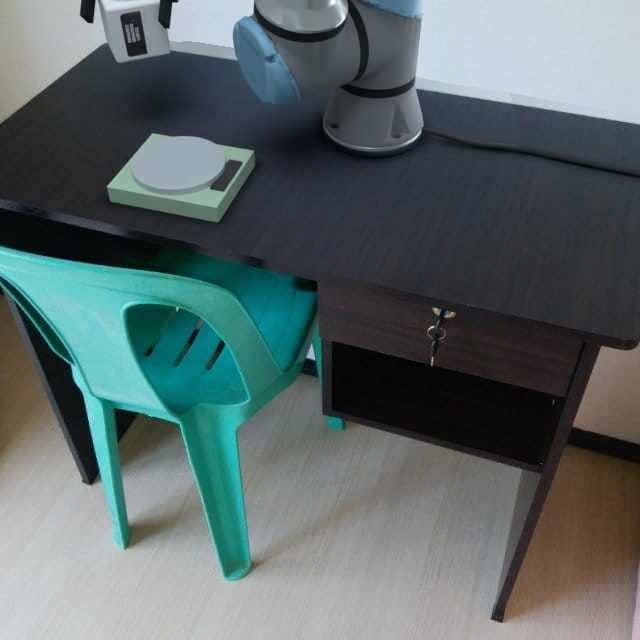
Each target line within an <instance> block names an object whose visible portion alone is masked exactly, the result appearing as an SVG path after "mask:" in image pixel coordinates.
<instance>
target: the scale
mask: <svg viewBox="0 0 640 640" xmlns="http://www.w3.org/2000/svg"><path fill="white" fill-rule="evenodd" d="M255 167H256V157H255V150H252V149H246V148H241V147H234V146H229V145H224V144H218V143H215V142H213V141H211V140H209V139H207V138H203V137H198V136H192V135H191V136H190V135H178V136H177V135H176V136H172V135H171V136H170V135H166V134H158V133H154V132H153V133H152V132H151V134H150V136H149V137H148V138H147V139H146V140H145V142H144V143H143V144H141V146H140V147H139V148H138V150H137V151H136V152H135V153H134V154H133V156H131V157H130V159H129V160H128V161H127V162H126V164H125V165H124V166H123V167H122V168H121V169H120V170H119V172H118V173H117V174H116V175H115V177H114V178H113V179H112V180H111V181H110V182H109V184H108V185H106V189H107V193H108V197H109V202H110V203H116V204H121V205H125V206H129V207H130V206H131V207H136V208H141V209H146V210H152V211H156V212H162V213H167V214H171V215H177V216H180V217H181V216H182V217H187V218H192V219H197V220H202V221H207V222H212V223H220V221H221V220H222V218H223V216H224V215H225V213H226V212H227V210H228V208H229V207H230V205H231V204H232V202H233V201H234V199H235V198H236V196H237V195H238V193H239V191H240V190H241V188H242V187H243V185H244V183H245V182H246V181H247V179H248V178H249V177H250V175H251V173H252V171H253V170H254V168H255Z"/></svg>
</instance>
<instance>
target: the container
mask: <svg viewBox="0 0 640 640" xmlns="http://www.w3.org/2000/svg"><path fill="white" fill-rule="evenodd" d="M97 3H98V7H99V13H100V17H101V21H102V26H103V31H104V35H105V39H106V42H107V44H108V46H109V49H110V51H111V52H112V55H113V57H114V59H115V61H116V63H118V64H122V63H123V64H124V63H127V62H133V61H137V60H143V59H149V58H154V57H160V56H164V55H165V56H166V55H169V54H170V53H171V45H170V40H169V39H170V38H169V33H168V32H169V31H168V29H165V28H164V27H163V26H162V25H161V24H160V23H159V21H158V15H159V6H160V0H97Z"/></svg>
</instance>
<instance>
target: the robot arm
mask: <svg viewBox="0 0 640 640" xmlns="http://www.w3.org/2000/svg"><path fill="white" fill-rule="evenodd" d="M179 2H180V0H160V6H159V15H158V21H159V23H160V24H161V25H162V26H163V27H164V28H165V29H167V30H170V28H171V19H172V11H173V3H176V4H178V3H179ZM96 3H97V0H80V8H79V16H80V18H82V19H83V20H84V21H85V22H86V23H87V24H94V19H95V11H96ZM423 18H424V13H423V0H253V12H252V14H251V15H249V16H247V15H244V16H242V18H240V19H239V20H237V21H236V22H235V24H234V25H233V29H232V41H233V42H232V43H233V44H232V45H233V49H234V53H235V56H236V60H237V63H238V65H239V68H240V70H241V72H242V75H243V77H244V79H245V82H247V84H248V86H249V88H250V89H251V90H252V92H253V93H254V94H255V95H256V97H257V98H258V99H260V101H262V102H263V103H264V104H266V105H267V106H270V107H277V108H278V107H283V106H286V105H287V106H288V105H291V104H298V103H300V102H301V101H304V100H306V99H309V98H311V97H315V96H317V95H320V94H323V93H325V92H328V91H331V90H332V91H331V94H330V97H329V99H328V102H327V104H326V108H325V109H324V110H325V111H324V114H323V117H322V132H323V136H324V138H325V140H326V141H327V142H328V143H329V144H330V145H331V146H333V147H334V148H336V149H337V150H339V151H340V152H341V151H342V152H345V153H346V154H349V155H353V156H357V157H364V158H386V157H387V158H388V157H392V156H397V155H401V154H403V153H405V152H408V151H409V150H411V149H413V148H414V147H415V146H417V144H418V143H419V142H420V141H421V139H422V137H423V134H427V135H431V136H436V137H439V138H443V139H446V140H450V141H453V142H457V143H459V144H465V145H468V146H474V147H479V148H488V149H496V150H497V149H498V150H506V151H511V152H512V151H513V152H519V153H525V154H530V155H535V156H540V157H545V158H549V159H554V160H557V161H563V162H566V163H572V164H576V165H581V166H586V167H591V168H595V169H601V170H604V171H605V170H606V171H610V172H616V173H621V174H626V175H630V176H637V177H640V169H635V168H629V167H624V166H619V165H614V164H609V163H605V162H599V161H596V160H595V161H594V160H590V159H585V158H579V157H574V156H571V155H565V154H561V153H556V152H552V151H546V150H544V149H543V150H542V149H538V148H533V147H528V146H523V145H517V144H509V143H502V142H501V143H500V142H492V141H491V142H490V141H483V140H482V141H481V140H476V139H470V138H466V137H463V136H459V135H455V134H453V133H449V132H445V131H441V130H437V129H434V128H429V127H425V126H424V117H423V112H422V108H421V106H420V105H421V104H420V101H419V97H418V92H417V89H416V77H417V67H418V57H419V49H420V48H419V47H420V39H421V31H422V30H421V29H422V21H423Z"/></svg>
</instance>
